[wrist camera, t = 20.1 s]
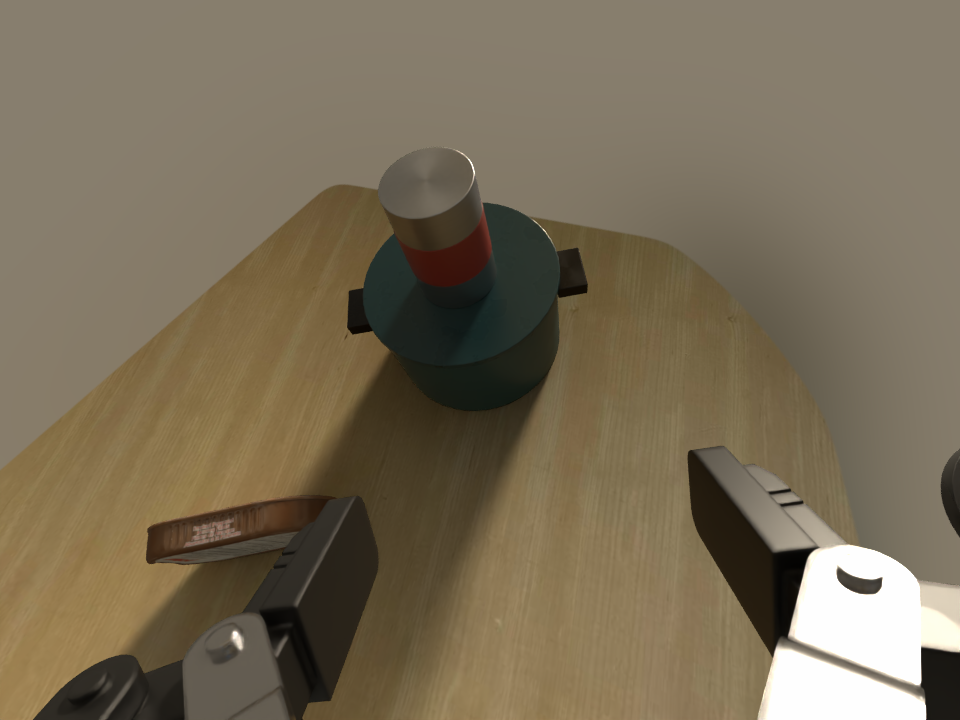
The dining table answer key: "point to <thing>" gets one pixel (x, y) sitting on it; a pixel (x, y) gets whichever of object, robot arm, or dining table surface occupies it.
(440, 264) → the can
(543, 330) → the pot
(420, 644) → the dining table surface
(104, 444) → the dining table surface
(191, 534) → the tin
